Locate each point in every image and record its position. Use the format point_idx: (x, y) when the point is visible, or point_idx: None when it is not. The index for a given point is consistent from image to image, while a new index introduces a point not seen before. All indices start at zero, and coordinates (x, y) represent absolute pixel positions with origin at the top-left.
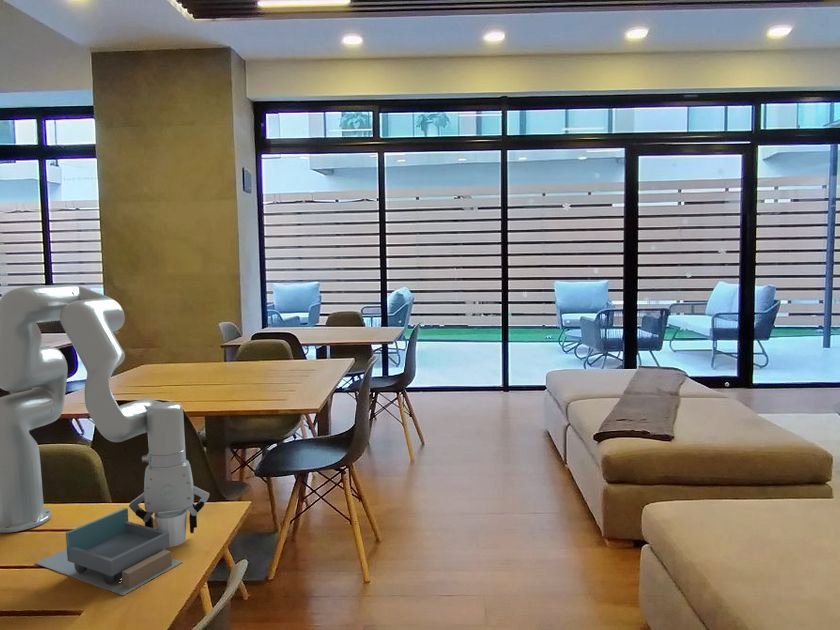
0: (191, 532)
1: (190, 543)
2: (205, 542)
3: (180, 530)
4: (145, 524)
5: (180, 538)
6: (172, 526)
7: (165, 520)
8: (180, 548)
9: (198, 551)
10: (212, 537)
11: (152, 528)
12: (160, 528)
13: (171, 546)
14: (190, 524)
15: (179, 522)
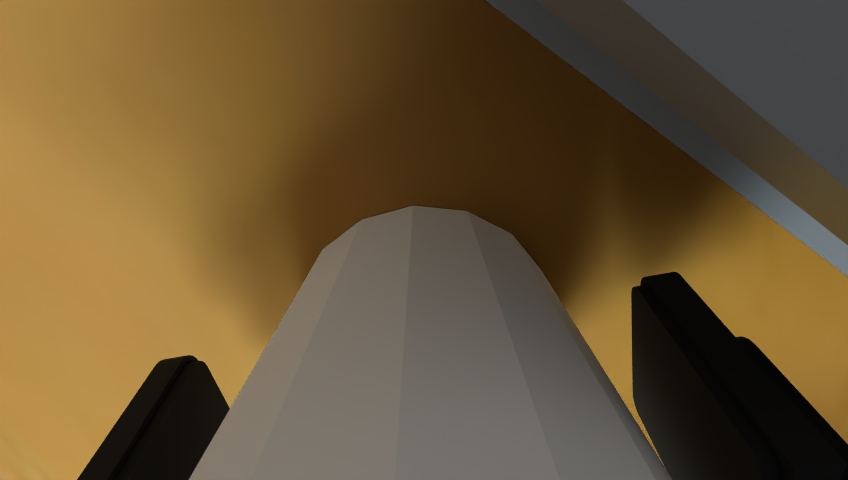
0: (177, 358)
1: (218, 259)
2: (65, 261)
3: (264, 350)
4: (841, 451)
5: (301, 288)
6: (329, 360)
7: (453, 460)
8: (279, 161)
9: (14, 53)
10: (55, 348)
11: (760, 82)
12: (550, 352)
13: (395, 213)
14: (135, 446)
15: (214, 445)
